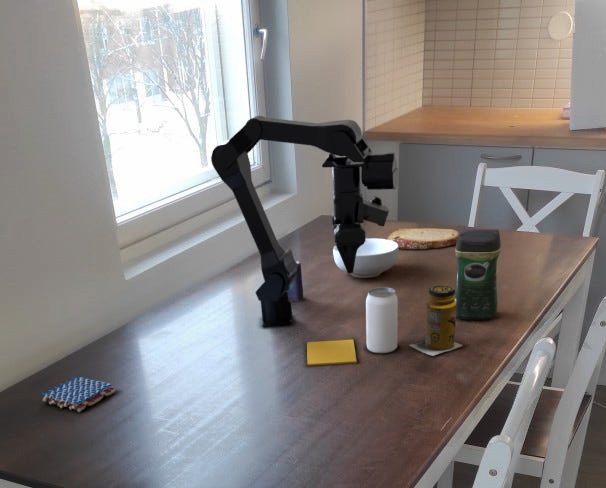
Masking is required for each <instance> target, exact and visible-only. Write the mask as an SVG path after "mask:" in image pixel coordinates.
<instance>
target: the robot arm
mask: <svg viewBox="0 0 606 488" xmlns="http://www.w3.org/2000/svg"><path fill="white" fill-rule="evenodd" d="M260 141H270V142H278V143H284V144H285V143H286V144H294V145H303V146H310V147H315V148H317V149H319V150H321V151H323V152H325V153H328V156H327V157H326V159H325V160H324V161H323V162H322V163H321V167H322V168H331V172H332V173H331V176H332V178H331V179H332V200H333V201H332V202H333V203H332V204H333V210H332V212H331V223H332V224H331V225H332V229H333V233H334V235H333V236H334V237H333V238H334V244H335V245H334V246H336V247H337V249H338V251H339V254H340V256H341V258H342V260H343V263H344V265H345V267H346V270H347V272H348V273H347V272H346V273H347V274H350V273H353V270H354V264H355V259H356V254H357V249H358V248H359V247H360V246H361V245H363V244H364V243H365V242H366V240H365V239H366V229H365V227H364V226H363V225H362V224H364V222H365V221H366V222H370V223H373V224H376V225H377V226H379V227H385V224H386V222H387V218H388V216H389V213H390V210H389V208H388V206H386V205H385V204H383V202H382V197H379V196H376V195H374V196H373V197H372V198H371V199H370V200H369V199H367V200H366V199H364V197H363V194H362V190H361V189H362V188H361V185H363V187H366V189H367V190H369V191H372V190H373V191H374V190H375V191H377V190H381V191H384V190H385V191H387V190H388V191H389V190H392V191H393V190H397V187H398V180H399V167H398V162H397V159H396V152H395V151H388V152H385V153H384V152H383V153H382V152H381V153H380V152H379V153H376V152H375V153H373V151H372V149H371V148H370V146H369V145H368V143H367V142H366V141H365V139H364V138H363V132H362V129H361V127H360V126H359V124H358V123H357V121H355V120H352V119H341V120H331V121H326V122H310V121H300V120H299V121H298V120H292V119H291V120H290V119H282V118H273V117H266V116H263V115H256V116H254V117H252V118H250V119H248V120H247V121H246V122H245V124H244V125H243V127H241V128H240V129H239V131H237V132H236V133H235V134H234V135H232V137H230V138H229V139H228V140H226V141H224V142H222V143H220V144H218V145H216V146H215V147H214V148H213V150H212V152H211V156H210V161H211V162H210V163H211V165H212V167H213V169H214V170H215V172H216V173H217V175H218V177H219V178H220V180H221V181H222V182H223V183H224V184H225V185H226V186H227V187H228V188H229V189H230V190H231V191H232V193H233V196H234V198H235V200H236V203H237V205H238V207H239V209H240V211H241V214H242V217H243V218H244V221H245V223H246V225H247V228H248V230H249V232H250V235H251V237H252V239H253V241H254V244H255V246H256V248H257V250H258V253H259V256H260V269H261V273H262V277H263V281H264V282H263V283H262V284H261V285H260V286H259V288H257V290H256V291H255V295H256V298H257V300H258V301H259V302H260V307H261V308H260V309H261V319H262V320H261V326H262V327H279V326H290V325H291V321H292V320H293V307H292V305H293V304H292V300H291V299H288V292H286V291H287V290H289V288H290V285H291V284H292V283H293V282H294V281H295V279H296V277H297V268H296V267H297V266H298V264H297V263H296V262H295V261H296V260H295V258H294V255H293V251H292V249H291V248H289V249H287V250H285V249H284V248H283V247H281V245H280V244H279V242H278V240H277V237H276V235H275V232H274V230H273V227H272V224H271V223H270V220H269V218H268V216H267V213H266V211H265V209H264V207H263V204H262V202H261V198H260V197H259V195H258V193H257V190H256V187H255V186H254V183H253V180H252V168H251V162H250V157H249V153H250V152H251V151H252V150H253V149H254V148H255V147H256V145H258V143H259V142H260Z"/></svg>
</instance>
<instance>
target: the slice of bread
mask: <svg viewBox="0 0 606 488" xmlns="http://www.w3.org/2000/svg"><path fill="white" fill-rule="evenodd" d="M459 233H460V231H458V230H455V229H452V228H451V229H449V228H435V227H434V228H431V227H430V228H429V227H427V228H426V227H424V228H403V227H401V228H399V229H398V230H397V229H396V230H394V231H393V232H392V233H390V234H389V235H388V236H387V238H386V240H391V241H394V242H396V243H397V244H398V246H399V248H398V249H400V250H404V251H405V250H407V251H411V250H413V251H414V250H416V251H417V250H418V251H419V250H429V249H441V248H446V247H451V246H455V245H456V244H457V239H458V235H459Z"/></svg>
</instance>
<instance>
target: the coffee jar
mask: <svg viewBox="0 0 606 488" xmlns="http://www.w3.org/2000/svg"><path fill="white" fill-rule="evenodd" d="M501 243H502V242H501V233H500V231H499V229H485V228H483V229H482V228H481V229H479V228H478V229H476V228H475V229H461V231H459V235H458V239H457V244H455V256H456V257H455V258H456V260H457V273H456V274H457V275H456V276H457V277H456V286H455V301H456V318H457V319H462V320H474V321H477V320H490V319H492V318H493V317H495V316H496V315H497V312H498V290H497V289H498V287H497V264H498V258H499V256H500V254H501V251H502V244H501Z"/></svg>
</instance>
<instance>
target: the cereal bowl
mask: <svg viewBox="0 0 606 488" xmlns="http://www.w3.org/2000/svg"><path fill="white" fill-rule="evenodd" d="M386 239H387V238H386ZM386 239H385V238H365V240H366V242H365V243H364V244H363V245H361V246H360V247H359V248H358V249H357V254H356V259H355V264H354V270H353V273H348V272H347V270H346V267H345V265H344V263H343V260H342V258H341V256H340V254H339V251H338V249H337V247H336V245H334V246H333V249H332V252H333V254H332V255H333V260H334V263H335V265H336V266H337V267H338V268H339V270H341V271H343V272H344V273H347V274H350V275H351V276H352V277H354V278H359V279H369V278H370V279H371V278H375V277H378V276H380V275H382V273H384V272H387V271H388V270H389V269H391V268H392V267H393V266H394V265H395V264H396V262H397V260H398V258H399V257H398V256H399V246H398V244H397V243H396V242H394V241H391V240H386Z"/></svg>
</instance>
